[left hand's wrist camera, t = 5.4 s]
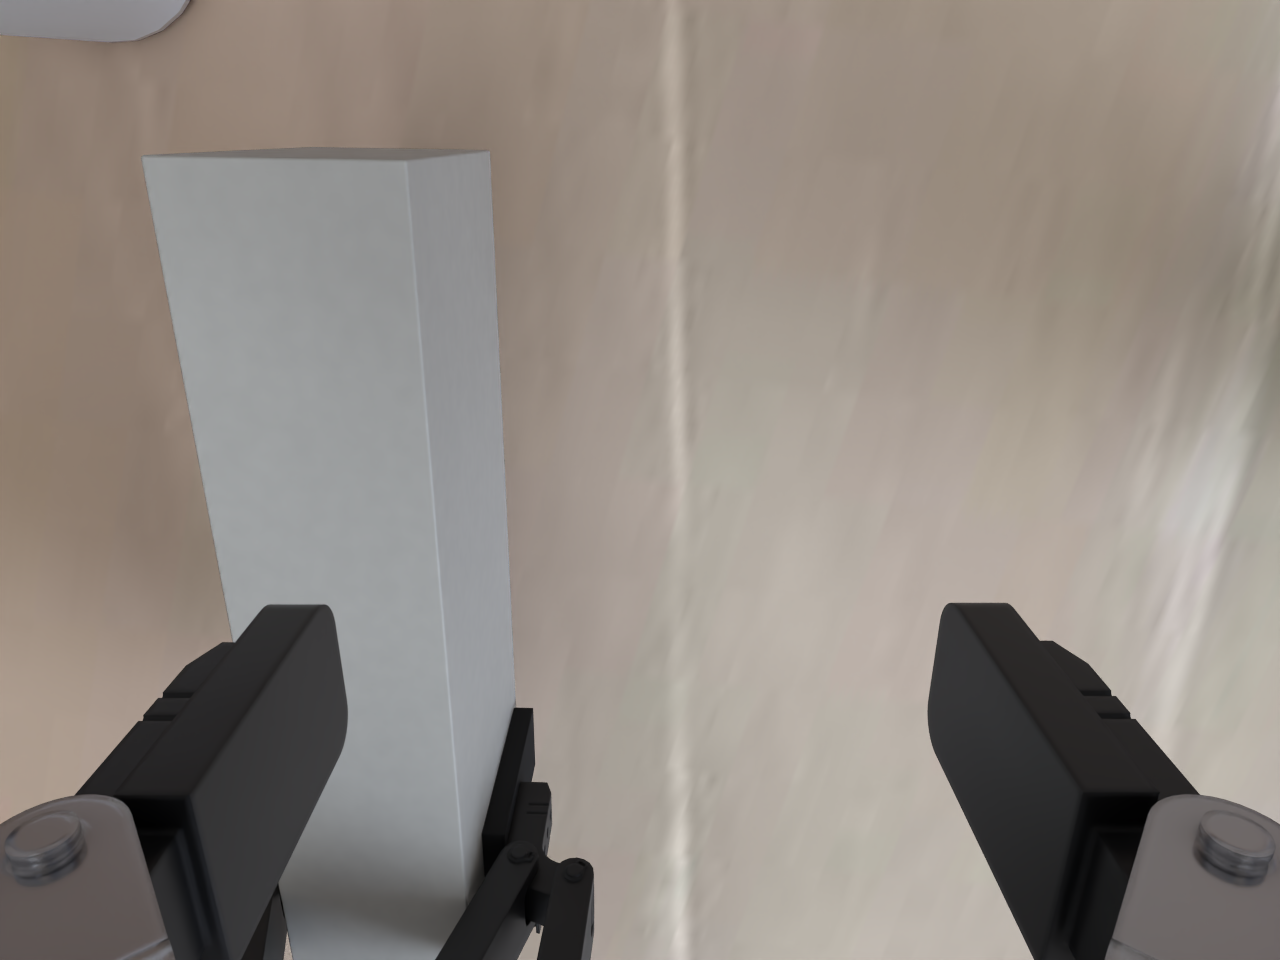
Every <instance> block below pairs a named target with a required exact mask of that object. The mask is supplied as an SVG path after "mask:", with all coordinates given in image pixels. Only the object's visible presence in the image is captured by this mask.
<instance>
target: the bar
mask: <svg viewBox="0 0 1280 960" xmlns="http://www.w3.org/2000/svg"><path fill="white" fill-rule="evenodd" d="M141 160H142V166H143V171H144V176H145V182H146V187H147V192H148V197H149V203H150V208H151V213H152V219H153V224H154V229H155V234H156V240H157V245H158V250H159V255H160V261H161V266H162V271H163V277H164V282H165V287H166V292H167V298H168V303H169V308H170V314H171V319H172V324H173V329H174V335H175V340H176V345H177V351H178V356H179V361H180V366H181V372H182V377H183V382H184V387H185V393H186V398H187V403H188V409H189V414H190V419H191V424H192V430H193V435H194V440H195V446H196V451H197V456H198V461H199V467H200V472H201V477H202V483H203V488H204V493H205V498H206V504H207V509H208V514H209V519H210V525H211V530H212V535H213V541H214V546H215V551H216V556H217V562H218V567H219V572H220V578H221V583H222V588H223V593H224V599H225V604H226V609H227V615H228V620H229V625H230V630H231V636H232V641H233V642H236V640H237V639H238V638H239V637H240V636H241V634H242V633H243V632H244V631H245V629H246V628H247V627H248V626H249V624H250V623H251V622H252V621H253V619H254V618H255V617H256V616H257V614H258V613H259V612H260V611H261V609H262V608H263V607H265V606H266V605H269V604H325V605H328V606H329V607H330V609H331V610H332V612H333V615H334V619H335V624H336V630H337V637H338V644H339V650H340V657H341V664H342V670H343V677H344V684H345V691H346V697H347V705H348V724H347V733H346V738H345V743H344V746H343V749H342V752H341V755H340V757H339V759H338V761H337V763H336V765H335V767H334V769H333V771H332V773H331V775H330V777H329V779H328V781H327V784H326V786H325V788H324V790H323V792H322V794H321V796H320V798H319V800H318V802H317V804H316V806H315V808H314V810H313V812H312V814H311V816H310V819H309V821H308V823H307V825H306V827H305V829H304V831H303V833H302V835H301V837H300V839H299V841H298V843H297V845H296V847H295V849H294V851H293V854H292V856H291V858H290V860H289V862H288V864H287V866H286V868H285V870H284V872H283V874H282V876H281V878H280V880H279V882H278V884H279V889H280V894H281V900H282V905H283V910H284V916H285V921H286V926H287V931H288V937H289V942H290V947H291V952H292V958H293V960H435V959H436V957H437V956H438V954H439V952H440V951H441V949H442V948H443V946H444V944H445V943H446V941H447V939H448V938H449V936H450V934H451V933H452V931H453V929H454V928H455V926H456V924H457V923H458V921H459V919H460V918H461V916H462V915H463V913H464V911H465V910H466V908H467V906H468V905H469V903H470V901H471V900H472V898H473V896H474V895H475V893H476V891H477V890H478V888H479V887H480V885H481V883H482V882H483V880H484V878H485V876H484V862H483V848H482V830H483V826H484V822H485V818H486V815H487V811H488V807H489V803H490V799H491V795H492V791H493V787H494V783H495V780H496V776H497V772H498V768H499V764H500V760H501V756H502V752H503V748H504V745H505V741H506V737H507V733H508V729H509V725H510V721H511V717H512V713H513V709H514V708H516V697H515V676H514V655H513V633H512V612H511V591H510V569H509V548H508V527H507V505H506V484H505V463H504V441H503V420H502V399H501V378H500V356H499V335H498V314H497V292H496V271H495V250H494V228H493V207H492V186H491V164H490V151H489V150H456V149H396V148H337V147H302V148H281V149H260V150H240V151H219V152H198V153H177V154H156V155H143V156H141Z"/></svg>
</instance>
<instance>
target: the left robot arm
mask: <svg viewBox="0 0 1280 960" xmlns="http://www.w3.org/2000/svg"><path fill="white" fill-rule="evenodd" d="M143 716H144V718H143V721H138V722H137V723H136V724H135V726H134V727H133V728H132V729H131V730H130V731H129V733H128V734H127V735H126V736H125V737H124V738H123V740H122V741H121V742H120V743H119V744H118V745H117V747H116V748H115V749H114V750H113V751H112V752H111V754H110V755H109V756H108V757H107V758H106V759H105V761H104V762H103V763H102V764H101V765H100V766H99V767H98V769H97V770H96V771H95V772H94V773H93V774H92V776H91V777H90V778H89V779H88V780H87V781H86V783H85V784H84V785H83V786H82V787H81V788H80V790H79V791H78V792H77V793H76V794H75V795H74V796H69V797H64V798H60V799H56V800H52V801H49V802H46V803H43V804H40V805H38V806H35V807H33V808H30V809H28V810H25V811H23V812H21V813H19V814H17V815H15V816H13V817H12V818H10V819H8V820H7V821H5V822H3V823H2V824H0V960H241V959H242V957H243V954H244V952H245V950H246V948H247V946H248V944H249V942H250V940H251V938H252V936H253V934H254V932H255V930H256V928H257V926H258V924H259V922H260V919H261V917H262V915H263V913H264V911H265V909H266V907H267V905H268V903H269V901H270V899H271V897H272V895H273V893H274V891H275V889H276V886H277V884H278V882H279V880H280V878H281V876H282V874H283V872H284V870H285V868H286V866H287V864H288V862H289V860H290V858H291V856H292V854H293V851H294V849H295V847H296V845H297V843H298V841H299V839H300V837H301V835H302V833H303V831H304V829H305V827H306V825H307V823H308V821H309V819H310V816H311V814H312V812H313V810H314V808H315V806H316V804H317V802H318V800H319V798H320V796H321V794H322V792H323V790H324V788H325V786H326V784H327V781H328V779H329V777H330V775H331V773H332V771H333V769H334V767H335V765H336V763H337V761H338V759H339V757H340V755H341V752H342V749H343V746H344V743H345V738H346V733H347V724H348V705H347V697H346V691H345V684H344V677H343V670H342V664H341V657H340V650H339V644H338V637H337V630H336V624H335V619H334V615H333V612H332V610H331V609H330V607H329V606H328V605H325V604H269V605H266V606H265V607H263V608H262V609H261V611H260V612H259V613H258V614H257V616H256V617H255V618H254V619H253V621H252V622H251V623H250V624H249V626H248V627H247V628H246V629H245V631H244V632H243V633H242V634H241V636H240V637H239V638H238V639H237V640H236V642H222V643H221V644H219V645H218V646H216V647H214V648H213V649H211V650H210V651H208V652H207V653H205V654H203V655H202V656H200V657H199V658H197V659H196V660H194V661H193V662H191V663H189V664H188V665H186V666H185V668H184V669H183V670H182V671H181V672H180V673H179V674H178V676H177V677H176V678H175V679H174V680H173V681H172V683H171V684H170V685H169V686H168V687H167V688H166V690H165V691H164V692H163V697H162V698H158V699H157V700H156V701H155V702H154V704H153V705H152V706H151V707H150V708H149V709H148V711H147V712H146V713H145V714H144V715H143ZM928 726H929V733H930V738H931V743H932V746H933V749H934V752H935V754H936V756H937V758H938V760H939V762H940V764H941V766H942V769H943V771H944V773H945V775H946V777H947V779H948V781H949V783H950V785H951V787H952V789H953V791H954V794H955V796H956V798H957V800H958V802H959V804H960V806H961V808H962V810H963V812H964V814H965V816H966V819H967V821H968V823H969V825H970V827H971V829H972V831H973V833H974V835H975V837H976V839H977V841H978V844H979V846H980V848H981V850H982V852H983V854H984V856H985V858H986V860H987V862H988V864H989V867H990V869H991V871H992V873H993V875H994V877H995V879H996V881H997V883H998V885H999V887H1000V889H1001V892H1002V894H1003V896H1004V898H1005V900H1006V902H1007V904H1008V906H1009V908H1010V910H1011V912H1012V914H1013V917H1014V919H1015V921H1016V923H1017V925H1018V927H1019V929H1020V931H1021V933H1022V935H1023V937H1024V939H1025V942H1026V944H1027V946H1028V948H1029V950H1030V952H1031V954H1032V956H1033V958H1034V960H1280V824H1278V823H1277V822H1275V821H1273V820H1272V819H1270V818H1268V817H1267V816H1265V815H1263V814H1261V813H1259V812H1257V811H1255V810H1252V809H1250V808H1247V807H1245V806H1242V805H1240V804H1237V803H1234V802H1231V801H1228V800H1224V799H1220V798H1216V797H1211V796H1204V795H1200V794H1199V793H1198V792H1197V791H1196V790H1195V788H1194V787H1193V786H1192V785H1191V784H1190V783H1189V781H1188V780H1187V779H1186V778H1185V777H1184V776H1183V774H1182V773H1181V772H1180V771H1179V770H1178V769H1177V767H1176V766H1175V765H1174V764H1173V763H1172V761H1171V760H1170V759H1169V758H1168V757H1167V756H1166V754H1165V753H1164V752H1163V751H1162V750H1161V749H1160V747H1159V746H1158V745H1157V744H1156V743H1155V742H1154V740H1153V739H1152V738H1151V737H1150V736H1149V734H1148V733H1147V732H1146V731H1145V730H1144V729H1143V727H1142V726H1141V725H1140V724H1139V723H1138V722H1137V720H1136V719H1131V717H1130V712H1129V711H1128V710H1127V709H1126V708H1125V706H1124V705H1123V704H1122V703H1121V702H1120V700H1119V699H1118V698H1117V697H1116V696H1112V695H1111V690H1110V689H1109V688H1108V686H1107V685H1106V684H1105V683H1104V682H1103V681H1102V679H1101V678H1100V677H1099V676H1098V675H1097V673H1096V672H1095V671H1094V670H1093V669H1092V668H1091V666H1090V665H1089V664H1088V663H1086V662H1085V661H1083V660H1082V659H1080V658H1078V657H1077V656H1075V655H1074V654H1072V653H1071V652H1069V651H1067V650H1066V649H1064V648H1063V647H1061V646H1060V645H1058V644H1057V643H1055V642H1053V641H1039V639H1038V638H1037V637H1036V636H1035V634H1034V633H1033V632H1032V631H1031V629H1030V628H1029V627H1028V626H1027V624H1026V623H1025V622H1024V621H1023V619H1022V618H1021V617H1020V616H1019V614H1018V613H1017V612H1016V611H1015V609H1014V608H1013V607H1012V606H1011V605H1010V604H1008V603H948V604H947V605H946V606H945V608H944V610H943V612H942V615H941V619H940V625H939V632H938V639H937V645H936V652H935V659H934V666H933V673H932V679H931V686H930V693H929V700H928Z"/></svg>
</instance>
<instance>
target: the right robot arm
mask: <svg viewBox="0 0 1280 960" xmlns="http://www.w3.org/2000/svg"><path fill="white" fill-rule="evenodd" d="M534 767H535V749H534V723H533V708H514V709H513V713H512V717H511V721H510V725H509V729H508V733H507V737H506V741H505V745H504V748H503V752H502V756H501V760H500V764H499V768H498V772H497V776H496V780H495V783H494V787H493V791H492V795H491V799H490V803H489V807H488V811H487V815H486V818H485V822H484V826H483V830H482V848H483V862H484V876H485V878H484V880H483V882H482V883H481V885H480V887H479V888H478V890H477V891H476V893H475V895H474V896H473V898H472V900H471V901H470V903H469V905H468V906H467V908H466V910H465V911H464V913H463V915H462V916H461V918H460V919H459V921H458V923H457V924H456V926H455V928H454V929H453V931H452V933H451V934H450V936H449V938H448V939H447V941H446V943H445V944H444V946H443V948H442V949H441V951H440V952H439V954H438V956H437V957H436V959H435V960H517V959H518V957H519V955H520V953H521V951H522V949H523V947H524V945H525V943H526V941H527V939H528V937H529V935H530V933H531V931H532V929H533V927H535V926H536V933H539V934H540V930H541V925H542V926H544V927H543V932H542V937H541V942H540V947H539V952H538V957H537V960H590V958H591V951H592V944H593V936H594V872H593V867H592V866H591V864H590V863H589V862H587V861H586V860H584V859H580V858H569V859H567V860H564V861H562V862H561V863H557V862H555V861H552V860H551V859H549V858H548V857H547V852H548V845H549V840H550V833H551V827H552V806H551V791H550V789H549V786H548V783H545V782H532V777H533V772H534ZM286 936H287V926H286V921H285V916H284V910H283V905H282V900H281V894H280V889H279V884H277V886H276V889H275V891H274V893H273V895H272V897H271V899H270V901H269V903H268V905H267V907H266V909H265V911H264V913H263V915H262V917H261V919H260V922H259V924H258V926H257V928H256V930H255V932H254V934H253V936H252V938H251V940H250V942H249V944H248V946H247V948H246V950H245V952H244V954H243V957H242V959H241V960H283V959H284V951H285V943H286Z"/></svg>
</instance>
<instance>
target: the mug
mask: <svg viewBox="0 0 1280 960" xmlns="http://www.w3.org/2000/svg"><path fill="white" fill-rule="evenodd" d="M189 1H190V0H0V35H9V36H24V37H39V38H53V39H68V40H83V41H98V42H111V43H115V42H127V41H139V40H142V39H144V38H146V37H149V36H151V35H153V34H156V33H158V32H161V31H163V30H164V29H165V28H166V27H167V26H169V25H170V24H171V23H172V22H173V21H174V20H175V19H176V18H178V17H179V16H180V15H181V14H182V13H183V12H184V10H185V8H186V7H187V5H188V3H189Z"/></svg>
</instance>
